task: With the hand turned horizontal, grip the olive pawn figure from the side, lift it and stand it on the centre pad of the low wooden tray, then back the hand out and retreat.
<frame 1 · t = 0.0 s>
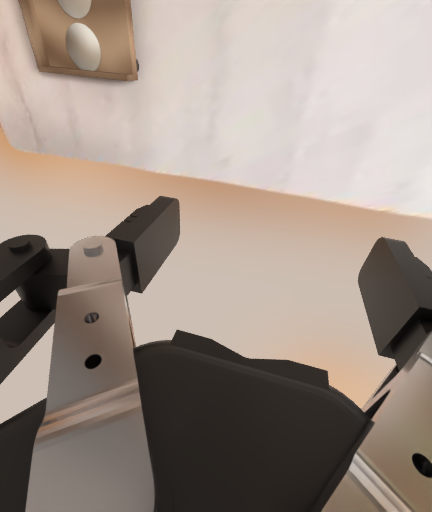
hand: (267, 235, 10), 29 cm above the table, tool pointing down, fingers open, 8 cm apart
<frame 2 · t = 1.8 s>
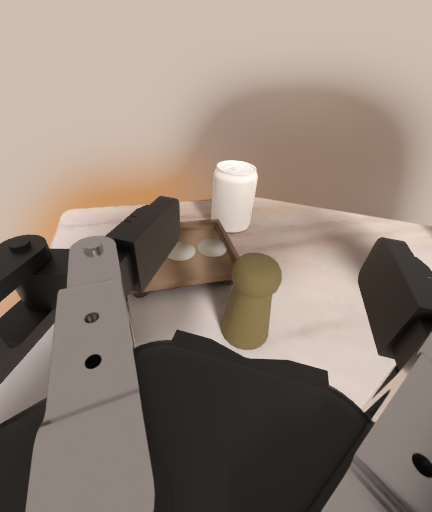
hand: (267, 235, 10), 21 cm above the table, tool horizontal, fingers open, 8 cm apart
beverage can: (229, 225, 52), on the table
olive pawn figure: (244, 329, 32), on the table
wooden tray: (180, 264, 41), on the table
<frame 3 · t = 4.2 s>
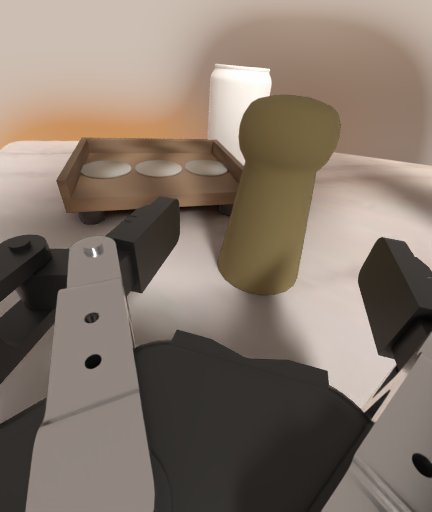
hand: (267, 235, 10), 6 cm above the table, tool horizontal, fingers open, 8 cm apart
beverage can: (231, 162, 40), on the table
olive pawn figure: (256, 268, 19), on the table
wooden tray: (160, 193, 28), on the table
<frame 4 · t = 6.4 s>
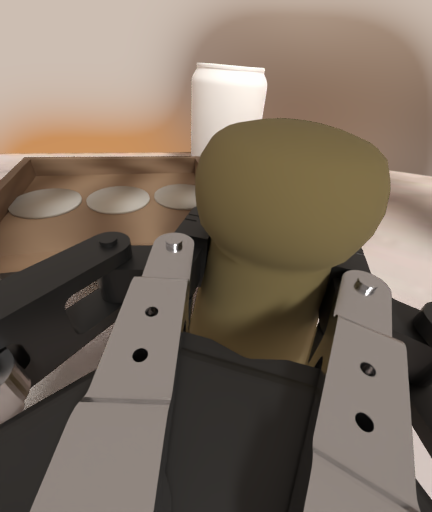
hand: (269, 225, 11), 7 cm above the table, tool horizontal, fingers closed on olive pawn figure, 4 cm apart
beverage can: (221, 179, 33), on the table
olive pawn figure: (240, 362, 13), on the table, touching gripper
wooden tray: (124, 228, 22), on the table
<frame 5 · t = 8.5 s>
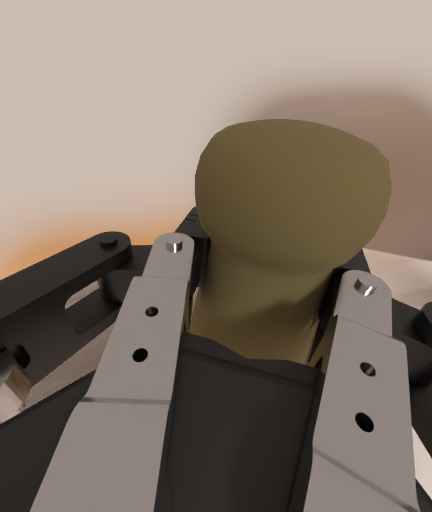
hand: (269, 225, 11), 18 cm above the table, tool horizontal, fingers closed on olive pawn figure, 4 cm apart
olive pawn figure: (241, 363, 13), point 11 cm above the table, touching gripper
when the fingers open (10 cm above the table, at t = 10.5 s): olive pawn figure moves 2 cm, resting on wooden tray.
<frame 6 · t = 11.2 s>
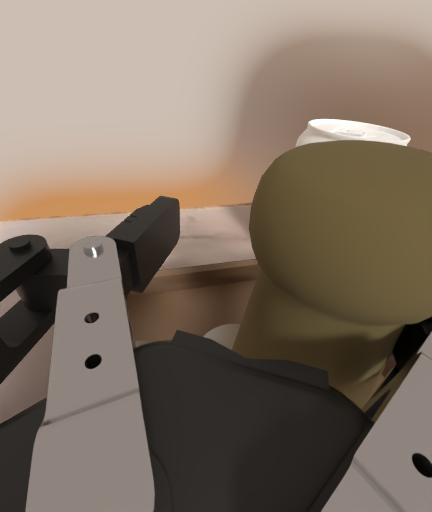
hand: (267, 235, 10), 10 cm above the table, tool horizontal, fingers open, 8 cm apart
beverage can: (308, 255, 26), on the table
olive pawn figure: (283, 392, 12), point 3 cm above the table, touching gripper, wooden tray
wooden tray: (232, 387, 15), on the table
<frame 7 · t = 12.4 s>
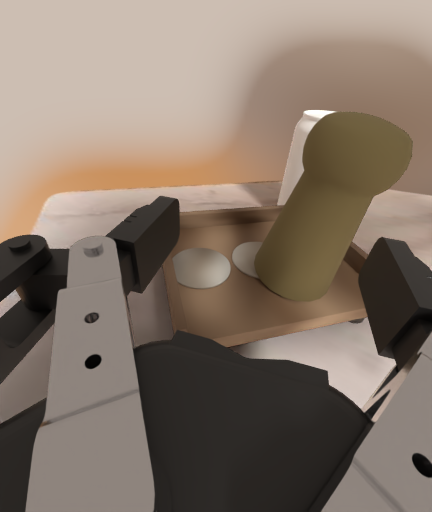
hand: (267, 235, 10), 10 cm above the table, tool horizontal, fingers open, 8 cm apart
beverage can: (305, 216, 34), on the table
olive pawn figure: (290, 271, 20), point 3 cm above the table, touching wooden tray
wooden tray: (255, 282, 23), on the table
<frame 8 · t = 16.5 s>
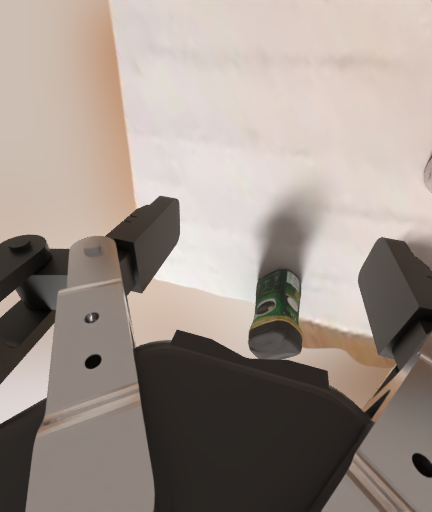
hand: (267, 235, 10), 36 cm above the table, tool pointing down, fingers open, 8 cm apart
coffee jar: (279, 282, 58), on the table
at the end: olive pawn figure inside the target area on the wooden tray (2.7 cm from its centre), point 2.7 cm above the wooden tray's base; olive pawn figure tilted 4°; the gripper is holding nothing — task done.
